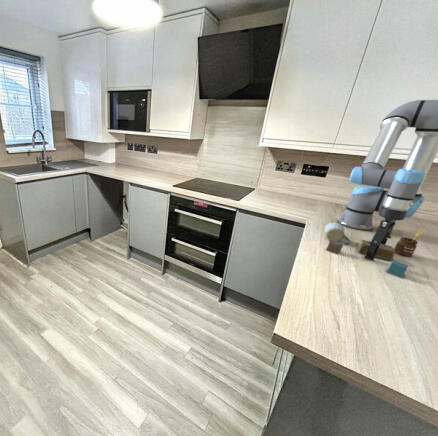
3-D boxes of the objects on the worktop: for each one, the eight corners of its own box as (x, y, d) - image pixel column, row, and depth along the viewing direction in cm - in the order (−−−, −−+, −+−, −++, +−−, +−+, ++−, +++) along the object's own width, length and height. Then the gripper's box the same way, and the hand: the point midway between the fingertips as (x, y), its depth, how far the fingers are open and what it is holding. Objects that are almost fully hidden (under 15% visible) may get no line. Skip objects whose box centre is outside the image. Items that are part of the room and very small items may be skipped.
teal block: (389, 269, 91) (393, 260, 90) (403, 274, 88) (408, 265, 87) (386, 272, 89) (391, 263, 88) (401, 277, 86) (406, 268, 85)
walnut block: (329, 247, 106) (332, 239, 105) (340, 251, 103) (343, 243, 102) (326, 250, 104) (329, 241, 103) (337, 253, 101) (340, 245, 100)
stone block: (355, 248, 107) (359, 238, 105) (389, 256, 101) (394, 246, 100) (357, 253, 103) (361, 243, 101) (392, 262, 97) (398, 251, 95)
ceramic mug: (323, 239, 114) (328, 225, 111) (322, 234, 120) (327, 220, 118) (350, 246, 109) (357, 231, 106) (348, 240, 115) (354, 226, 112)
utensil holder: (389, 250, 107) (400, 225, 103) (403, 250, 107) (415, 226, 103) (401, 256, 102) (414, 231, 98) (416, 257, 102) (429, 232, 97)
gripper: (401, 216, 84) (377, 266, 92) (413, 206, 98) (391, 251, 106) (373, 210, 90) (353, 258, 98) (389, 201, 104) (370, 244, 112)
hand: (373, 254), depth 102 cm, fingers open, 13 cm apart
